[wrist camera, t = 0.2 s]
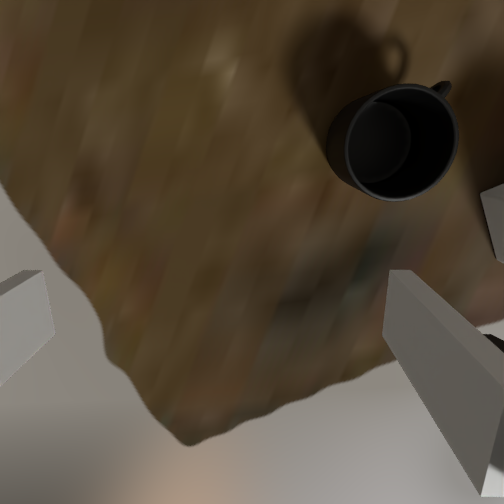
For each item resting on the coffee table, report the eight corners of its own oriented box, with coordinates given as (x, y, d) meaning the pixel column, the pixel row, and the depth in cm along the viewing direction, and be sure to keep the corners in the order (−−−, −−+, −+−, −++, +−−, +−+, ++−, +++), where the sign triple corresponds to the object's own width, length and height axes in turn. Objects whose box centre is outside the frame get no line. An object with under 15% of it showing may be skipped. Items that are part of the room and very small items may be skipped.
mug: (452, 122, 37) (510, 118, 29) (365, 205, 40) (394, 224, 31) (393, 54, 35) (436, 27, 27) (307, 145, 38) (320, 148, 30)
